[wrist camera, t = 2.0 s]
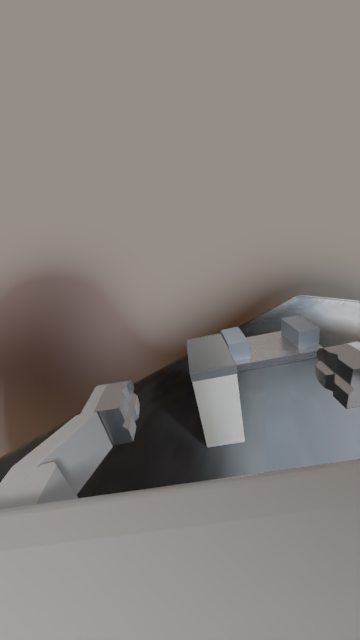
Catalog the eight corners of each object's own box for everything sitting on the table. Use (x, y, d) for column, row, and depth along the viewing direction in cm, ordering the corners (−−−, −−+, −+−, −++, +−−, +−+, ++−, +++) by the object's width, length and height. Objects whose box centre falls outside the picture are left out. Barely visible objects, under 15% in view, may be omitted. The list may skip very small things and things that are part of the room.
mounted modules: (298, 330, 39) (299, 315, 38) (318, 345, 34) (320, 327, 33) (222, 345, 40) (220, 330, 39) (230, 361, 35) (228, 344, 33)
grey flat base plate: (296, 334, 41) (296, 328, 41) (324, 356, 33) (325, 348, 33) (221, 348, 42) (220, 342, 41) (231, 373, 34) (230, 366, 34)
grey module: (229, 397, 29) (220, 333, 25) (245, 441, 23) (236, 365, 19) (199, 402, 30) (186, 339, 26) (206, 448, 23) (189, 373, 19)
